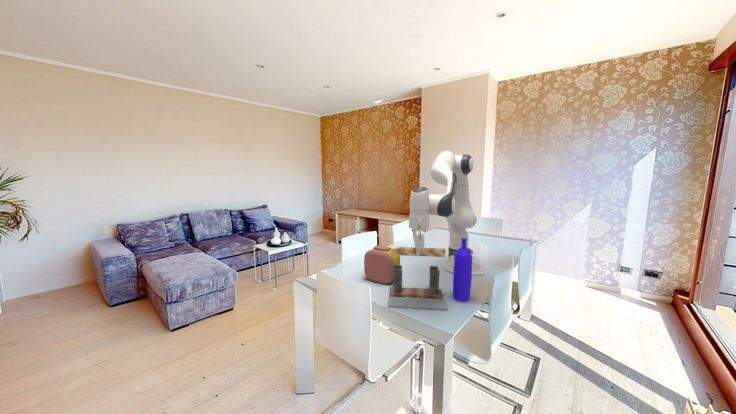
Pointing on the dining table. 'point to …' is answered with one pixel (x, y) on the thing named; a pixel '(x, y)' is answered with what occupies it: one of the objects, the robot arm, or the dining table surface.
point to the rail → (426, 252)
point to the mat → (417, 303)
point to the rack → (416, 292)
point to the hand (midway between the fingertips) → (417, 253)
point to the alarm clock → (380, 264)
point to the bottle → (462, 273)
